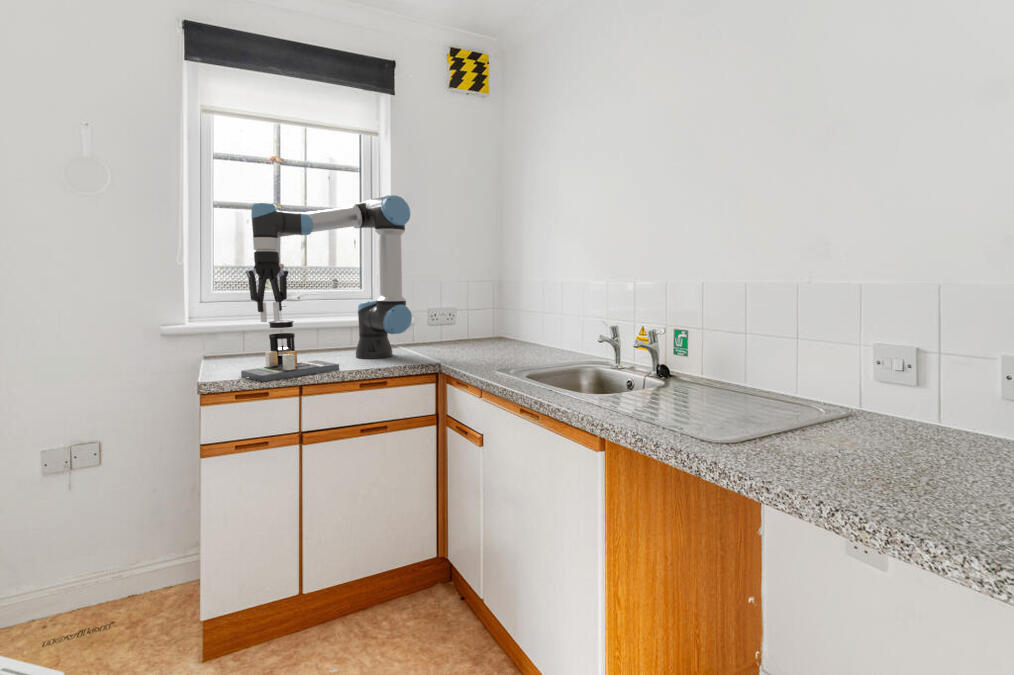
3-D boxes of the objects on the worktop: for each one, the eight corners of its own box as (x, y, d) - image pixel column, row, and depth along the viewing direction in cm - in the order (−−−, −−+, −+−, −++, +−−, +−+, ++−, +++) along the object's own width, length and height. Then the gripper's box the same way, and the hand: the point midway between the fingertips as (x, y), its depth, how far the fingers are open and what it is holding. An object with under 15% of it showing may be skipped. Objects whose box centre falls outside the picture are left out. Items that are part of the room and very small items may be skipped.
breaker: (293, 365, 186) (293, 350, 185) (297, 365, 184) (296, 351, 184) (285, 366, 184) (284, 351, 183) (289, 366, 182) (288, 352, 182)
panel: (316, 365, 200) (315, 345, 199) (339, 369, 190) (338, 349, 189) (241, 376, 179) (239, 354, 178) (262, 381, 169) (261, 358, 168)
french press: (280, 362, 207) (277, 304, 204) (302, 363, 205) (299, 304, 203) (262, 368, 195) (258, 306, 193) (285, 368, 194) (281, 306, 191)
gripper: (285, 252, 183) (288, 319, 186) (235, 250, 171) (239, 322, 173) (296, 251, 179) (299, 320, 181) (245, 249, 166) (250, 323, 169)
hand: (270, 321), depth 177 cm, fingers open, 4 cm apart
